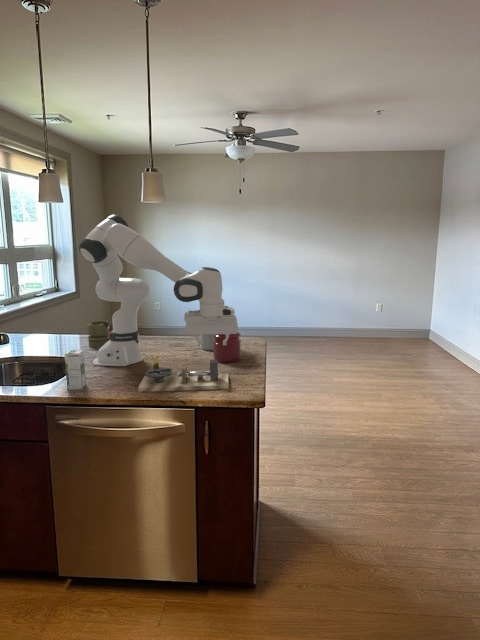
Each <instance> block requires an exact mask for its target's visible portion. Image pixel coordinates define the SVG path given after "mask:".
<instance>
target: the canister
mask: <svg viewBox="0 0 480 640" xmlns="http://www.w3.org/2000/svg"><path fill="white" fill-rule="evenodd" d="M239 331H240V330H239V328H238V332H237V334H229V338H228V340H227V341H226V342H227V345H223V340H225V339H226V334H213V337H214V341H213V347H214V351H213V354H212V355H213V360H218V362H219V363H235V362H238V361H240V360H241V357H242V353H241V342H242V341H241V338H240V336H241V333H240V332H239Z"/></svg>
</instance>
